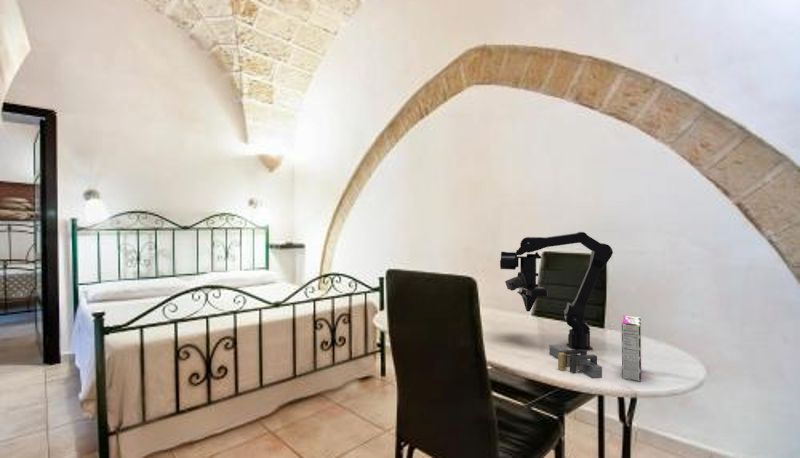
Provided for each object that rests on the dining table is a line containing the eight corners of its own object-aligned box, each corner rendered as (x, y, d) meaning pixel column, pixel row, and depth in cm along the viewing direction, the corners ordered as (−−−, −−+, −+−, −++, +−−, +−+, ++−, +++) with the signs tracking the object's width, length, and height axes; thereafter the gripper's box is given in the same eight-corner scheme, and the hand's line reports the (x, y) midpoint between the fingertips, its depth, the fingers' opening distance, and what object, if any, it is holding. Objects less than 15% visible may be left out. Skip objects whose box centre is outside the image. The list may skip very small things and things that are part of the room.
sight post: (568, 368, 122) (568, 352, 122) (571, 369, 121) (571, 353, 121) (558, 368, 122) (558, 352, 122) (560, 370, 120) (561, 354, 120)
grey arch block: (583, 364, 126) (583, 349, 126) (586, 365, 124) (586, 350, 124) (560, 365, 124) (560, 350, 124) (563, 367, 123) (563, 352, 123)
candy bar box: (622, 366, 123) (622, 314, 123) (641, 370, 121) (641, 316, 120) (620, 378, 114) (621, 322, 114) (641, 382, 111) (641, 324, 111)
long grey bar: (549, 354, 136) (549, 344, 136) (557, 353, 136) (557, 344, 136) (592, 378, 114) (592, 367, 114) (602, 377, 115) (602, 366, 115)
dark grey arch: (593, 369, 121) (593, 354, 121) (597, 371, 119) (597, 356, 119) (569, 371, 120) (569, 355, 119) (572, 373, 118) (572, 357, 118)
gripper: (498, 267, 156) (498, 306, 156) (519, 273, 138) (518, 317, 138) (524, 267, 158) (524, 306, 158) (548, 272, 140) (548, 316, 140)
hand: (528, 311), depth 148 cm, fingers closed
